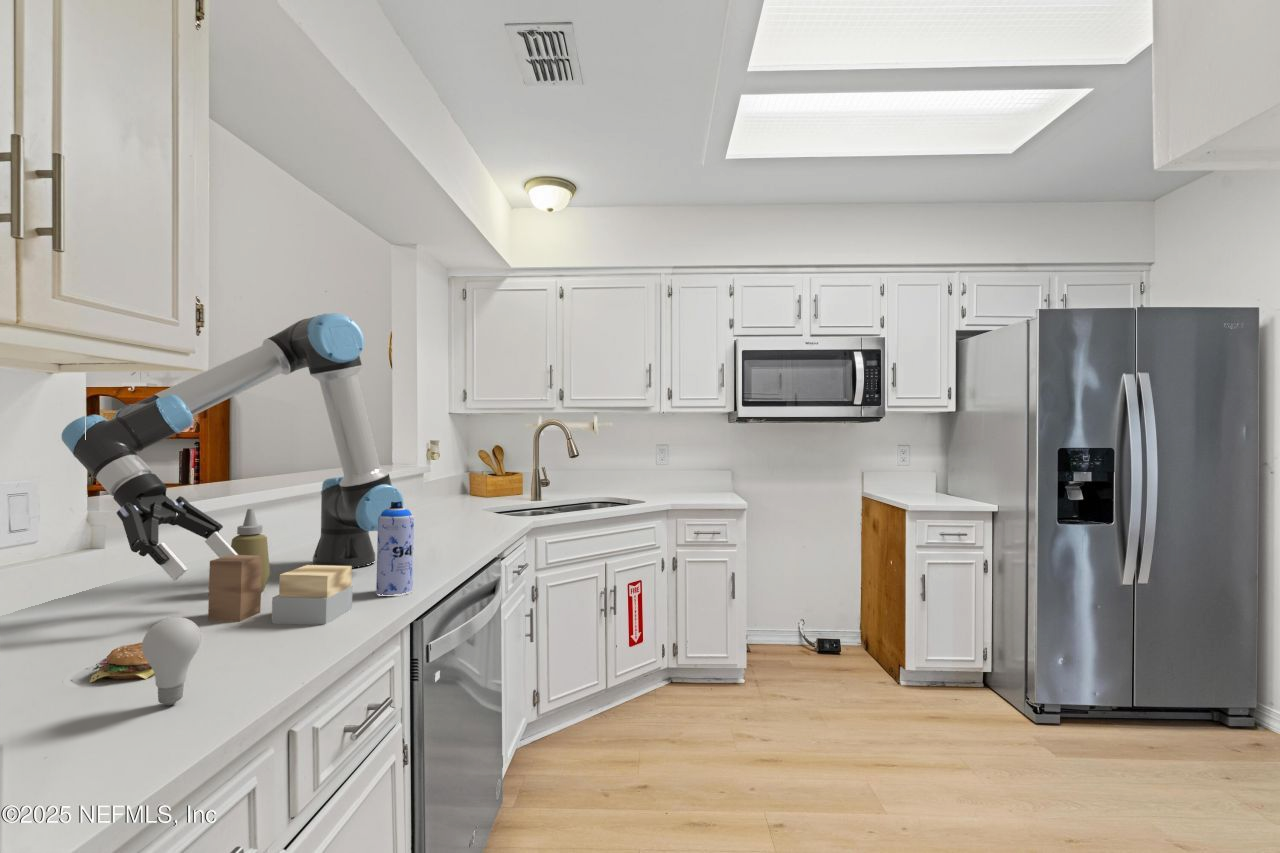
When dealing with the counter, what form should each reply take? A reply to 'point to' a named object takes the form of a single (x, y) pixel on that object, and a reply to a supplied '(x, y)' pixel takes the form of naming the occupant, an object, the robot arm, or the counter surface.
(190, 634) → the lightbulb
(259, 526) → the squeeze bottle
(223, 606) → the walnut block
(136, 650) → the hamburger
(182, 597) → the counter surface
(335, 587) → the beech slab
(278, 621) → the grey slab
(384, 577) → the aerosol can
